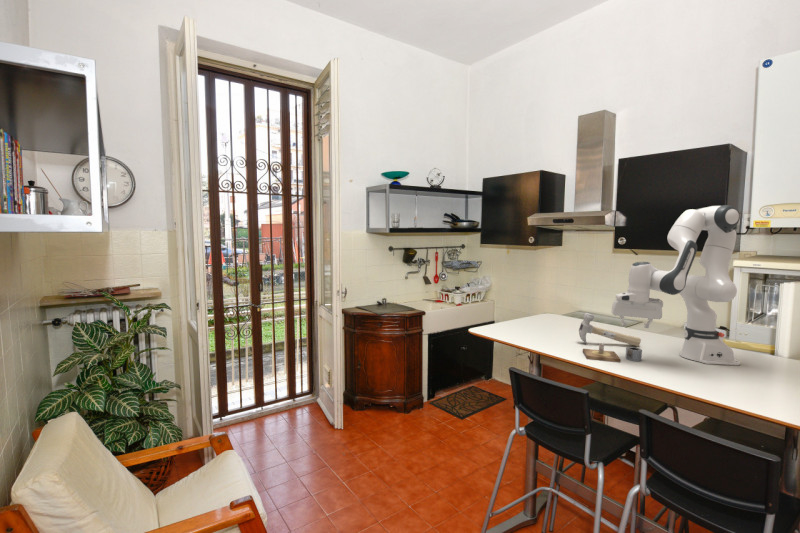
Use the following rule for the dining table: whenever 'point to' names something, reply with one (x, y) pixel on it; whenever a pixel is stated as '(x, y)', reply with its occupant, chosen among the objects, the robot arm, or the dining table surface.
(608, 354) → the post board
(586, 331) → the hammer
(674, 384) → the dining table surface
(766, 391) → the dining table surface
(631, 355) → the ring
